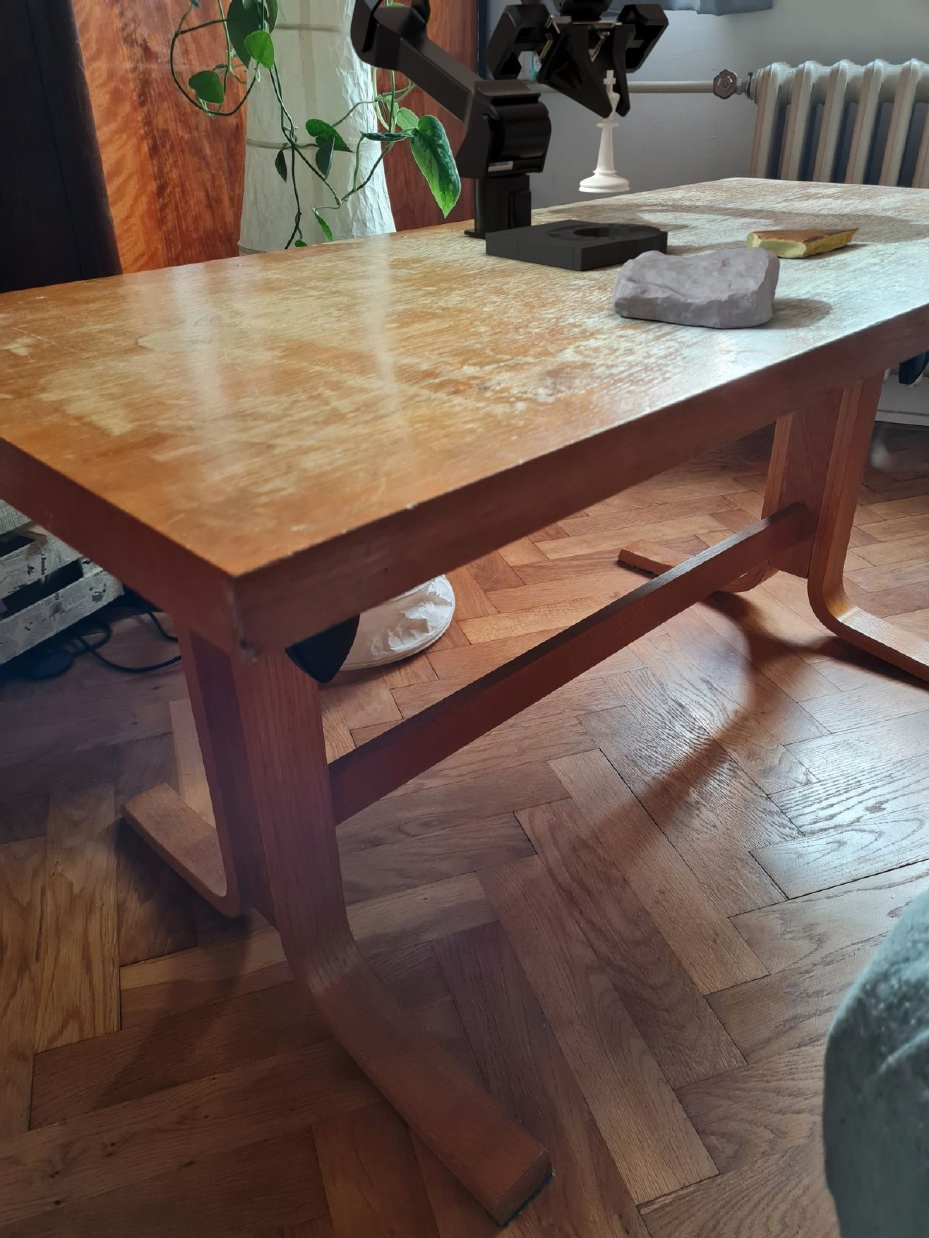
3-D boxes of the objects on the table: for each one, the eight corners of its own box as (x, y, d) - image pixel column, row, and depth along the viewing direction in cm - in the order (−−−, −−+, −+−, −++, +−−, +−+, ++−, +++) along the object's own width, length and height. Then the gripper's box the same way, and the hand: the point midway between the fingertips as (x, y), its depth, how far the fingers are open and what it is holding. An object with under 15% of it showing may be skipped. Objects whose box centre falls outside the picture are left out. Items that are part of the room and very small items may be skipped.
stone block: (768, 354, 63) (778, 295, 70) (774, 288, 60) (784, 232, 67) (602, 352, 67) (627, 296, 74) (600, 289, 64) (626, 236, 70)
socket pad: (485, 254, 92) (485, 233, 91) (580, 236, 99) (580, 217, 98) (586, 272, 82) (587, 249, 81) (683, 251, 89) (685, 230, 88)
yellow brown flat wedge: (856, 244, 89) (859, 224, 88) (877, 258, 82) (882, 237, 81) (744, 246, 90) (747, 227, 89) (757, 260, 84) (760, 240, 83)
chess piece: (570, 192, 86) (574, 72, 81) (591, 186, 90) (596, 70, 85) (617, 194, 84) (624, 70, 79) (637, 188, 88) (645, 69, 82)
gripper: (501, -114, 73) (585, 41, 71) (663, -102, 82) (741, 36, 80) (451, 8, 83) (524, 147, 81) (601, 7, 92) (669, 132, 90)
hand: (617, 114), depth 83 cm, fingers closed on chess piece
